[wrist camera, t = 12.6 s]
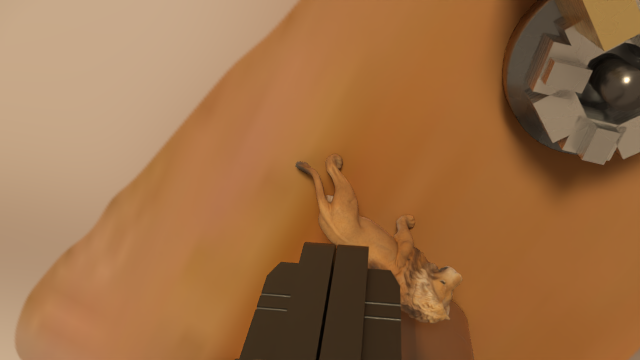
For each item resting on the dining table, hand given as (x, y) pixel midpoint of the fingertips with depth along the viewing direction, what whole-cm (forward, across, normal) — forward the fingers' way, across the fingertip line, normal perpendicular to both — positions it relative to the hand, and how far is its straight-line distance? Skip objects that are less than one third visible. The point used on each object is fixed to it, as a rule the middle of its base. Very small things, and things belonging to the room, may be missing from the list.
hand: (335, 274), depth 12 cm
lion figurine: (+27, -1, +15) cm, 31 cm away
